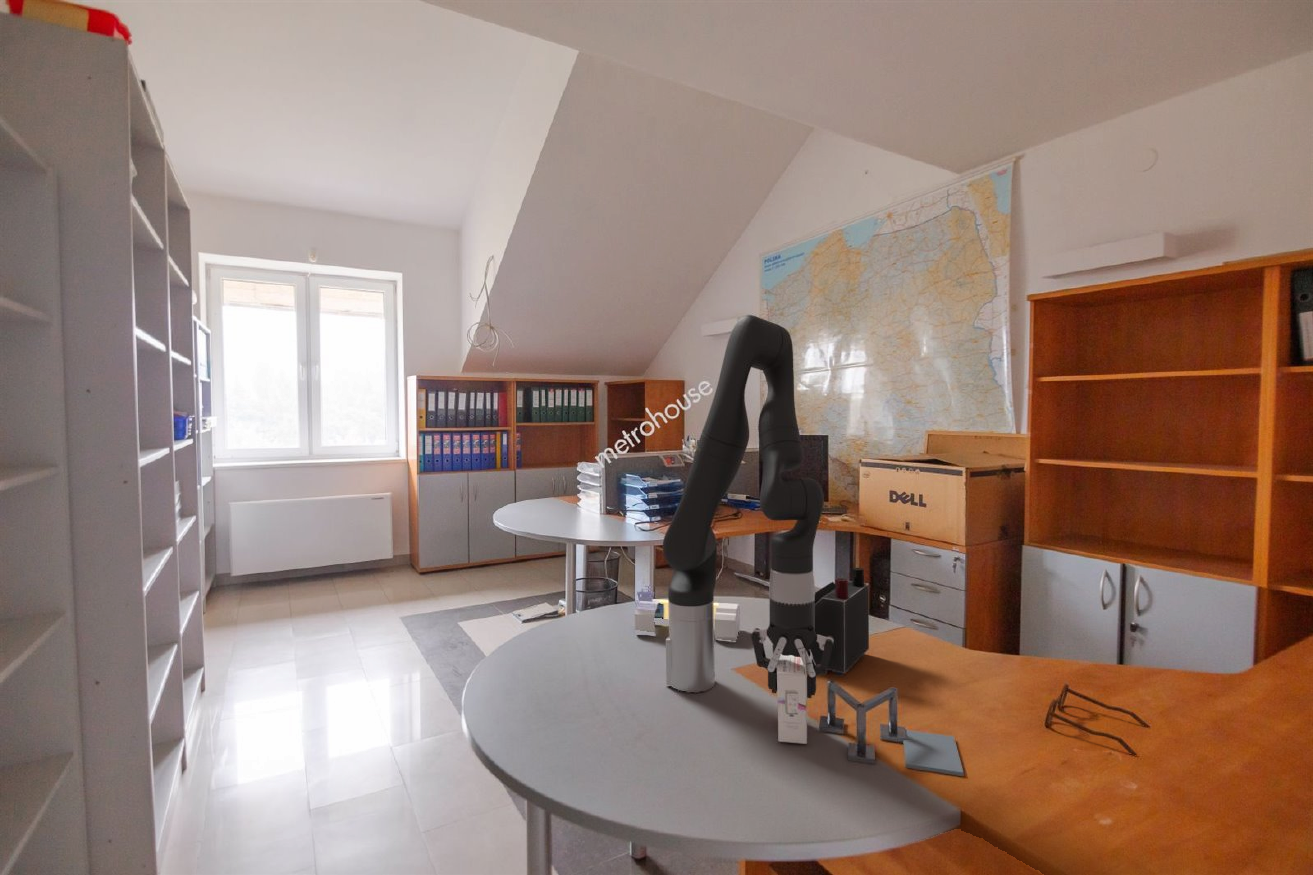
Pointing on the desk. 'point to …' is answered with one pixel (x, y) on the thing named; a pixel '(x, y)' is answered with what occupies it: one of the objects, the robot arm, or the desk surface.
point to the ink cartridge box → (792, 699)
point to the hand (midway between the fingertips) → (792, 693)
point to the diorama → (655, 608)
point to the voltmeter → (843, 621)
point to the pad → (932, 753)
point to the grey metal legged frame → (862, 721)
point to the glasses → (1060, 705)
